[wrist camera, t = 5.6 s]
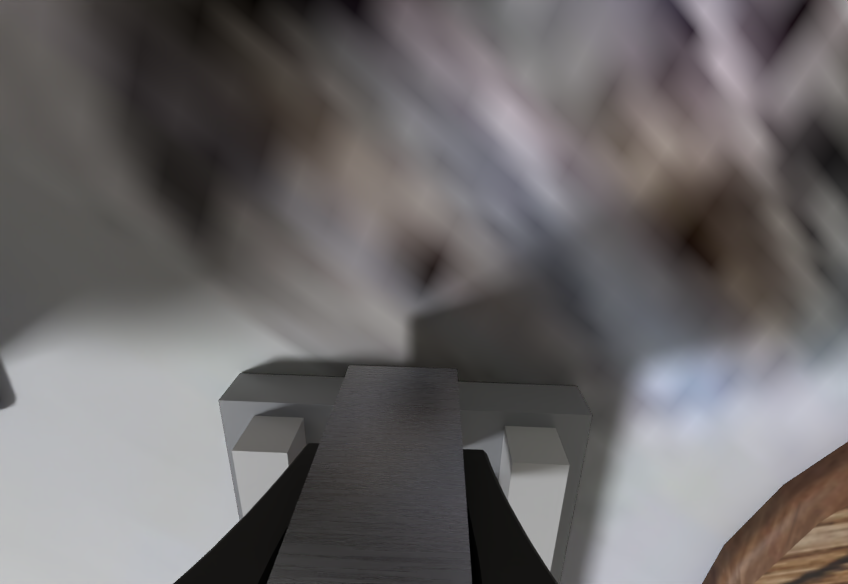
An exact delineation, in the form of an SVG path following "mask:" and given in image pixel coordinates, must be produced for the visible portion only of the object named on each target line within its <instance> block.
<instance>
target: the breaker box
mask: <svg viewBox="0 0 848 584" xmlns="http://www.w3.org/2000/svg"><path fill="white" fill-rule="evenodd" d="M343 380H344V377H324V376H298V375H272V374H245V373H240V374H239V375H238V376H237V378H236V379H235V380H234V382H233V383H232V384H231V385H230V387H229V388H228V389H227V390H226V392H225V393H224V394H223V395H222V397H221V398H220V399H219V406H220V412H221V417H222V423H223V429H224V434H225V440H226V446H227V451H228V457H229V463H230V468H231V474H232V480H233V485H234V491H235V497H236V502H237V508H238V514H239V519H240V520H241V519H242V518H243V517H244V516H245V515H246V514H247V513H248V512H249V511H250V509H251V508H252V507H253V506H254V505H255V504H256V503H257V502H258V501H259V500H260V498H261V497H262V496H263V495H264V494H265V493H266V492H267V491H268V490H269V488H270V487H271V486H272V485H273V484H274V483H275V482H276V480H277V479H278V478H279V477H280V476H281V475H282V474H283V472H284V471H285V470H286V469H287V468H288V466H289V465H290V464H291V463H292V462H293V460H294V459H295V458H296V457H297V456H298V454H299V453H300V452H301V451H302V449H303V448H304V447H305V446H306V445H307V444H308V443H320V441H321V438H322V436H323V433H324V430H325V428H326V425H327V422H328V420H329V417H330V414H331V412H332V409H333V406H334V404H335V401H336V398H337V396H338V393H339V390H340V388H341V385H342V382H343ZM458 389H459V403H460V418H461V432H462V446H463V449H478V450H484V451H485V452H486V453H487V455H488V458H489V461H490V463H491V466H492V468H493V470H494V473H495V475H496V477H497V479H498V482H499V484H500V486H501V488H502V490H503V492H504V494H505V496H506V498H507V500H508V502H509V504H510V506H511V508H512V509H513V511H514V513H515V515H516V517H517V518H518V520H519V522H520V524H521V525H522V527H523V529H524V531H525V532H526V534H527V536H528V538H529V539H530V541H531V543H532V544H533V546H534V547H535V549H536V551H537V552H538V554H539V555H540V557H541V558H542V560H543V562H544V563H545V565H546V566H547V568H548V569H549V571H550V572H551V574H552V575H553V577H554V578H555V580H556V581H557V583H558V584H560V579H561V574H562V569H563V564H564V559H565V553H566V548H567V543H568V538H569V533H570V528H571V523H572V518H573V513H574V507H575V502H576V497H577V492H578V487H579V482H580V477H581V472H582V467H583V461H584V456H585V451H586V446H587V441H588V436H589V431H590V426H591V421H592V416H593V415H592V413H591V411H590V409H589V407H588V405H587V404H586V402H585V400H584V398H583V396H582V394H581V392H580V390H579V388H578V386H560V385H534V384H508V383H481V382H458Z"/></svg>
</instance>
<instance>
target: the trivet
mask: <svg viewBox="0 0 848 584" xmlns="http://www.w3.org/2000/svg"><path fill="white" fill-rule="evenodd" d="M702 584H848V442H847V443H845V444H844V445H842V446H841V447H839V448H838V449H836V450H835V451H833V452H832V453H830V454H829V455H827V456H826V457H824V458H823V459H821V460H820V461H818V462H817V463H815V464H814V465H812V466H811V467H810V468H808V469H807V470H805V471H804V472H802V473H801V474H799V475H798V476H796V477H795V478H793V479H792V480H790V481H789V482H787V483H786V484H784V485H783V486H782V487H781V488H780V489H779V490H778V491H777V492H776V493H775V494H774V495H773V496H772V497H771V498H770V499H769V500H768V501H767V502H766V503H765V504H764V505H763V506H762V507H761V508H760V509H759V510H758V511H757V512H756V513H755V514H754V515H753V516H752V517H751V518H750V519H749V520H748V521H747V522H746V523H745V524H744V525H743V526H742V527H741V528H740V529H739V530H738V532H737V533H736V534H735V535H734V536H733V537H732V538H731V539H730V540H729V541H728V542H727V543H726V544H725V545H724V546H723V548H722V550H721V551H720V553H719V555H718V557H717V558H716V560H715V562H714V564H713V565H712V567H711V569H710V571H709V572H708V574H707V576H706V578H705V580H704V581H703V583H702Z"/></svg>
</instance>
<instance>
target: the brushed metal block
mask: <svg viewBox="0 0 848 584" xmlns="http://www.w3.org/2000/svg"><path fill="white" fill-rule="evenodd" d="M267 584H472V575H471V560H470V546H469V532H468V518H467V503H466V489H465V475H464V460H463V446H462V432H461V418H460V403H459V389H458V375H457V369H447V368H417V367H387V366H357V365H349V366H348V369H347V372H346V374H345V377H344V380H343V382H342V385H341V388H340V390H339V393H338V396H337V398H336V401H335V404H334V406H333V409H332V412H331V414H330V417H329V420H328V422H327V425H326V428H325V430H324V433H323V436H322V438H321V441H320V444H319V446H318V449H317V452H316V454H315V457H314V460H313V462H312V465H311V468H310V470H309V473H308V475H307V478H306V481H305V483H304V486H303V489H302V491H301V494H300V497H299V499H298V502H297V505H296V507H295V510H294V513H293V515H292V518H291V521H290V523H289V526H288V529H287V531H286V534H285V537H284V539H283V542H282V545H281V547H280V550H279V553H278V555H277V558H276V561H275V563H274V566H273V569H272V571H271V574H270V577H269V579H268V582H267Z"/></svg>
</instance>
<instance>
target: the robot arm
mask: <svg viewBox="0 0 848 584" xmlns="http://www.w3.org/2000/svg"><path fill="white" fill-rule="evenodd" d="M319 444H320V443H308V444H307V445H306V446H305V447H304V448H303V449H302V451H301V452H300V453H299V454H298V456H297V457H296V458H295V459H294V460H293V462H292V463H291V464H290V465H289V466H288V468H287V469H286V470H285V471H284V472H283V474H282V475H281V476H280V477H279V478H278V479H277V480H276V482H275V483H274V484H273V485H272V486H271V487H270V488H269V490H268V491H267V492H266V493H265V494H264V495H263V496H262V497H261V498H260V500H259V501H258V502H257V503H256V504H255V505H254V506H253V507H252V508H251V509H250V511H249V512H248V513H247V514H246V515H245V516H244V517H243V518H242V519H241V520H240V521H239V522H238V523H237V524H236V525H235V526H234V527H233V528H232V529H231V530H230V531H229V532H228V533H227V534H226V535H225V536H224V537H223V538H222V539H221V540H220V541H219V542H218V543H217V544H216V545H215V546H214V547H213V548H212V549H211V550H210V551H209V552H208V553H207V554H206V555H205V556H204V557H202V558H201V559H200V560H199V561H198V562H197V563H196V564H195V565H194V566H193V567H192V568H191V569H189V570H188V571H187V572H186V573H185V574H184V575H183V576H181V577H180V578H179V579H178V580H177V581H176V582H175V583H174V584H267V582H268V579H269V577H270V574H271V571H272V569H273V566H274V563H275V561H276V558H277V555H278V553H279V550H280V547H281V545H282V542H283V539H284V537H285V534H286V531H287V529H288V526H289V523H290V521H291V518H292V515H293V513H294V510H295V507H296V505H297V502H298V499H299V497H300V494H301V491H302V489H303V486H304V483H305V481H306V478H307V475H308V473H309V470H310V468H311V465H312V462H313V460H314V457H315V454H316V452H317V449H318V446H319ZM463 460H464V475H465V489H466V503H467V518H468V532H469V546H470V560H471V575H472V584H558V583H557V581H556V580H555V578H554V577H553V575H552V574H551V572H550V571H549V569H548V568H547V566H546V565H545V563H544V562H543V560H542V558H541V557H540V555H539V554H538V552H537V551H536V549H535V547H534V546H533V544H532V543H531V541H530V539H529V538H528V536H527V534H526V532H525V531H524V529H523V527H522V525H521V524H520V522H519V520H518V518H517V517H516V515H515V513H514V511H513V509H512V508H511V506H510V504H509V502H508V500H507V498H506V496H505V494H504V492H503V490H502V488H501V486H500V484H499V482H498V479H497V477H496V475H495V473H494V470H493V468H492V466H491V463H490V461H489V458H488V455H487V453H486V452H485V451H484V450H478V449H463Z"/></svg>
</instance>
